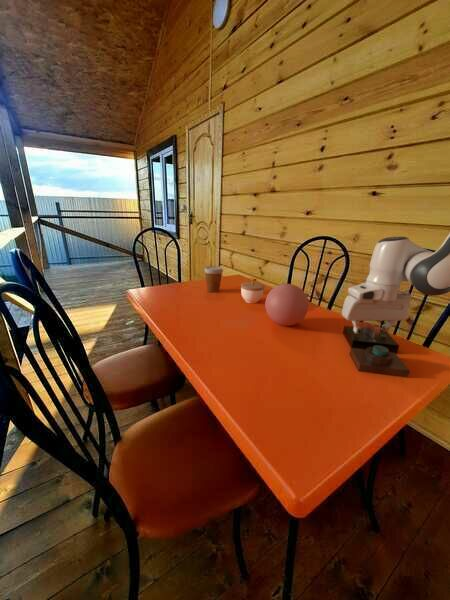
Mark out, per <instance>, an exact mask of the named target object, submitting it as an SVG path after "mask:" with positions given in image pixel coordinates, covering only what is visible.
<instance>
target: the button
mask: <svg viewBox="0 0 450 600" xmlns="http://www.w3.org/2000/svg"><path fill="white" fill-rule="evenodd" d="M372 353H373V354H375V355H377V356H381V357H387V354H388V349H387V348H386V347H383V346H380V345H375V346H373V350H372Z"/></svg>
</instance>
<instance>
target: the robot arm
mask: <svg viewBox="0 0 450 600" xmlns="http://www.w3.org/2000/svg"><path fill="white" fill-rule="evenodd" d="M402 282H408V283H410V284H411V285H412V286H413V287H414V288H415V289H416V290H417V291H418V292H419V293H421V294H424V295H427V296H432V297H433V296H442V295H445V294H448V293H450V232H449V234H448V235H447V236H446V238H445V239H444V240H443V242H442V244H441V245H440V246H439V248H438V249H437V250H436V251H432V250H429V249H426V248H424V247H423V246H421V245H418V244H416V243H415V242H413V241H412V240H411V239H410V238H409V237H407V236H390V237H389V236H388V237H383V238H381V239H380V240H378V241H377V243H376V244H375V246H374V249H373V252H372V254H371V258H370V262H369V273H368V275H367V277H366V281H365V282H362V283H359V284H355V285H352V286H350V287H348V289H347V293H348V295H347V296H346V297H345V299H344V300H343V301H344V302H343V305H342V308H341V315H342V317H343V318H344V319H345V320H347V321H349V322H350V321H351V323H352V326H353V327H354V329H353V331H354V332H355V333H360V332H361V327H360V326H359V324H360V322H361V321H362V322H363V321H364V322H365V321H372V322H374V321H376V322H377V321H379V322H381V321H382V322H383V321H386V322H385V324H384V325H381V326H380V329H381V331H382V332H383V333H388V334H389V332H390V329H391V328H392V327H393V326H394V325H395V323H396V322H399V321H400V322H402V321H406V320H407V319H408V318H409V316H410V310H411V300H412V296H413V295H411V293H410V292H409V291H407V290H404V291H401V290H400V287H401V283H402ZM399 290H400V291H399Z"/></svg>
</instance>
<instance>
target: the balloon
mask: <svg viewBox="0 0 450 600" xmlns="http://www.w3.org/2000/svg"><path fill="white" fill-rule="evenodd" d="M309 294H310V293H306V292H305V291H304V290H303V289H302V288H300V286H297V285H295V284H292V283H282V284H279V285H276V286H274V287H273V288H272V289H271V290H270V291H269V292H268V294H267V295H266V298H265V302H264V308H265V311H266V312H265V313H266V314H267V316H268V317H269V319H270V320H271V321H272V322H274V323H275V324H277V325H280V326H284V327H290V326H294V325H298V324H299V323H301V321H303V320H304V319H305V317H306V316H307V314H308V311H309V299H308V297H309V296H310V295H309Z"/></svg>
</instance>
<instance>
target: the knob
mask: <svg viewBox="0 0 450 600" xmlns="http://www.w3.org/2000/svg"><path fill="white" fill-rule="evenodd" d="M362 328H363V331H364V332H365V333H366V334H367V335H369V336H370V337H371V338H373V339H378V335H379V331H380V329H381V326H380V325H379V324H377V323H375V322H374V321H364V324H363V327H362Z"/></svg>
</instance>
